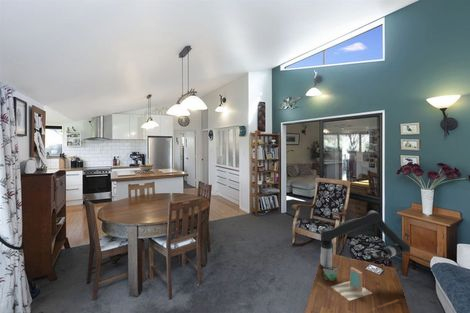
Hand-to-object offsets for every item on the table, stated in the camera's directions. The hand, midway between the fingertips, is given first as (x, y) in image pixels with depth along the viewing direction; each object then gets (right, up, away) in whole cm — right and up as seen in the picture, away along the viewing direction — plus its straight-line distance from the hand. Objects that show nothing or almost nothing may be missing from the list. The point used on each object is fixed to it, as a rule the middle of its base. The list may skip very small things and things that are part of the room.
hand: (372, 256), depth 186 cm
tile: (-15, -22, -4) cm, 27 cm away
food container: (-28, -23, +8) cm, 37 cm away
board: (-19, -24, -6) cm, 31 cm away
